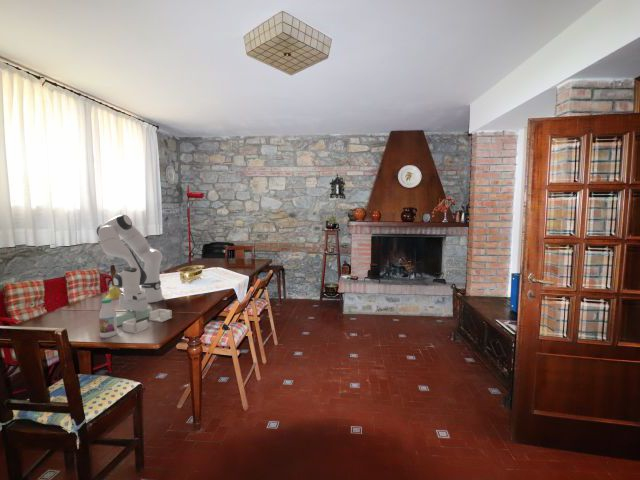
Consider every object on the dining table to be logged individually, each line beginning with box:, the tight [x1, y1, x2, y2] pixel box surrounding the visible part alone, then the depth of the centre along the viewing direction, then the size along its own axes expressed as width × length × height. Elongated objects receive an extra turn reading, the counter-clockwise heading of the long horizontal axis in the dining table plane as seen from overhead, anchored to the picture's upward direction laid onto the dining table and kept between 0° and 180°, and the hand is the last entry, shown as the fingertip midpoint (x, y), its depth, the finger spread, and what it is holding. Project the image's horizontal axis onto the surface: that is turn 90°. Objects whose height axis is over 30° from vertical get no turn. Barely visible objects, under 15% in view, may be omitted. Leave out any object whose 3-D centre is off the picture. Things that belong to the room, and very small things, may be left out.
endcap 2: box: [148, 308, 173, 323], centre depth 198 cm, size 8×10×5 cm
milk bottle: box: [98, 298, 118, 339], centre depth 172 cm, size 8×8×20 cm
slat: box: [116, 305, 153, 327], centre depth 194 cm, size 21×4×6 cm, turn 147°
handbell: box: [104, 264, 122, 300], centre depth 246 cm, size 12×12×25 cm
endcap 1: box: [121, 318, 149, 334], centre depth 181 cm, size 8×10×5 cm
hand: (133, 317), depth 194 cm, fingers closed on slat, 4 cm apart
